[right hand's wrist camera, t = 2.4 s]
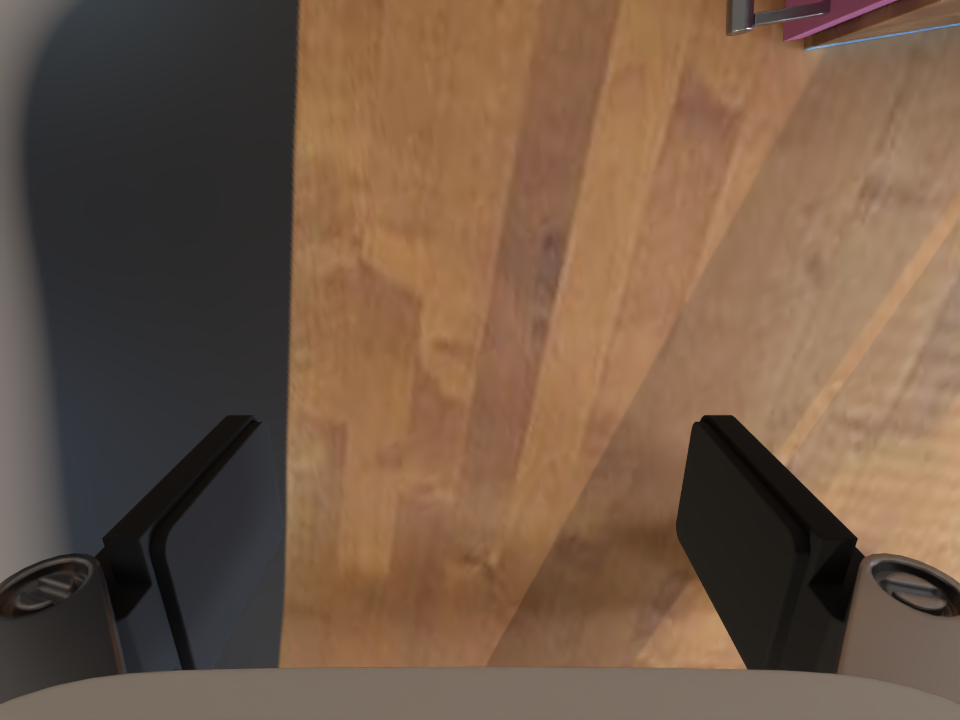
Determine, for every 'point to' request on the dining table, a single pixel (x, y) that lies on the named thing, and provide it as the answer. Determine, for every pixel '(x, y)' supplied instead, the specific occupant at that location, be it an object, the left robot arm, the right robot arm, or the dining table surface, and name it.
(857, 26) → the cabinet
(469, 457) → the dining table surface
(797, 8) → the drawer
